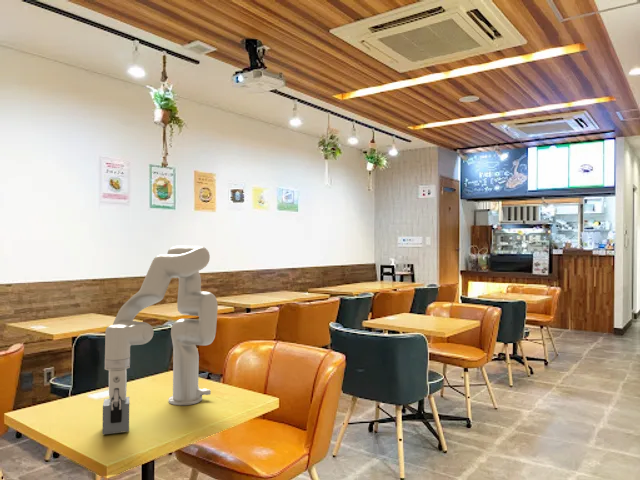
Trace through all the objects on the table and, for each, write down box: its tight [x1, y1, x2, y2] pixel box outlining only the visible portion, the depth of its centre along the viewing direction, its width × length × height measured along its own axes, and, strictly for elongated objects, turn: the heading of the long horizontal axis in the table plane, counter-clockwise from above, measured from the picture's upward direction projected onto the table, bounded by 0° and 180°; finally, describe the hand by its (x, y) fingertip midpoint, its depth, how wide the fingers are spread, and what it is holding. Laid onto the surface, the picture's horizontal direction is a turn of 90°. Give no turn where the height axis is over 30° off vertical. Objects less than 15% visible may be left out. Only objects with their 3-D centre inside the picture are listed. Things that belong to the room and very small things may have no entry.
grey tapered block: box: [102, 396, 130, 435], centre depth 159 cm, size 8×8×9 cm
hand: (116, 417), depth 159 cm, fingers closed on grey tapered block, 7 cm apart
